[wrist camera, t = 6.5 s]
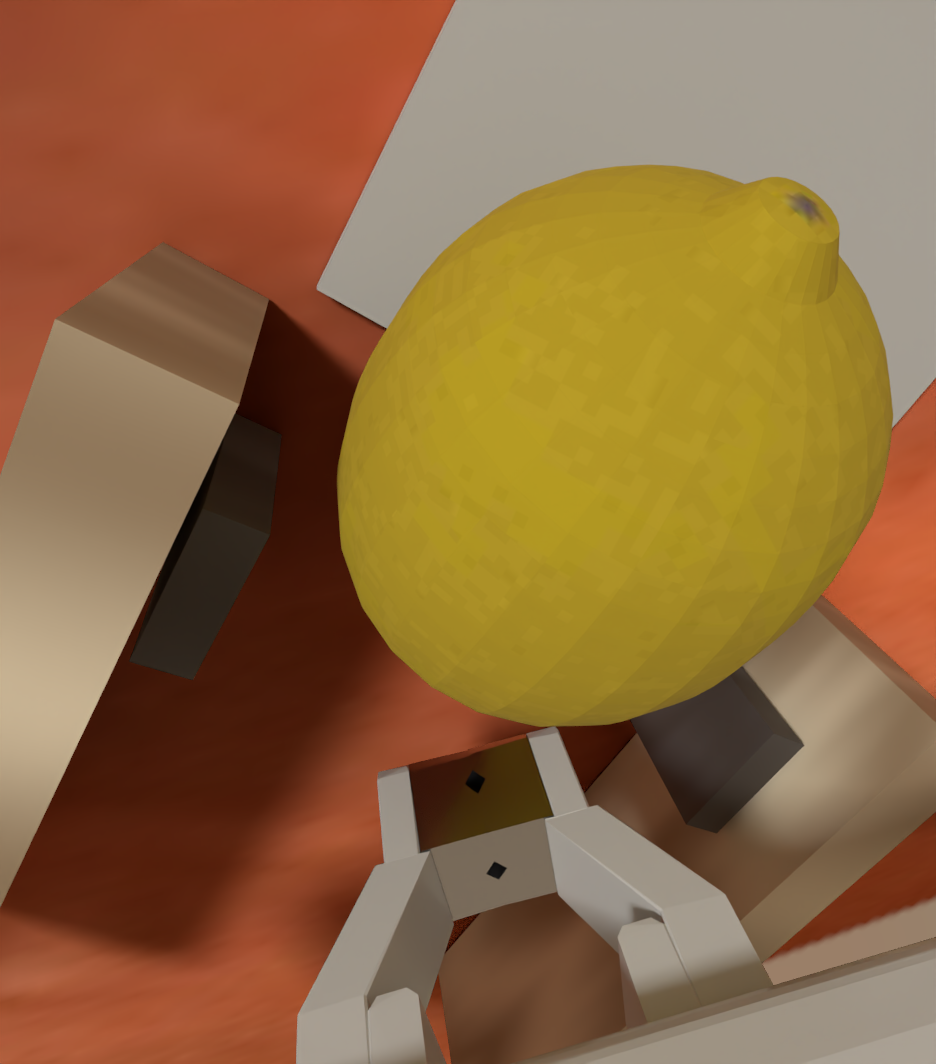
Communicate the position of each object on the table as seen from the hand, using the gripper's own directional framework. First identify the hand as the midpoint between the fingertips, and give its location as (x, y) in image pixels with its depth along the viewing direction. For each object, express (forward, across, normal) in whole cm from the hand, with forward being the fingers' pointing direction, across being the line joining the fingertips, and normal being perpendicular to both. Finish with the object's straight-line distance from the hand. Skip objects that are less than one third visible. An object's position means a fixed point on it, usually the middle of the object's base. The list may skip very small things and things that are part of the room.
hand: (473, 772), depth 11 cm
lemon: (+2, -1, -2) cm, 3 cm away
